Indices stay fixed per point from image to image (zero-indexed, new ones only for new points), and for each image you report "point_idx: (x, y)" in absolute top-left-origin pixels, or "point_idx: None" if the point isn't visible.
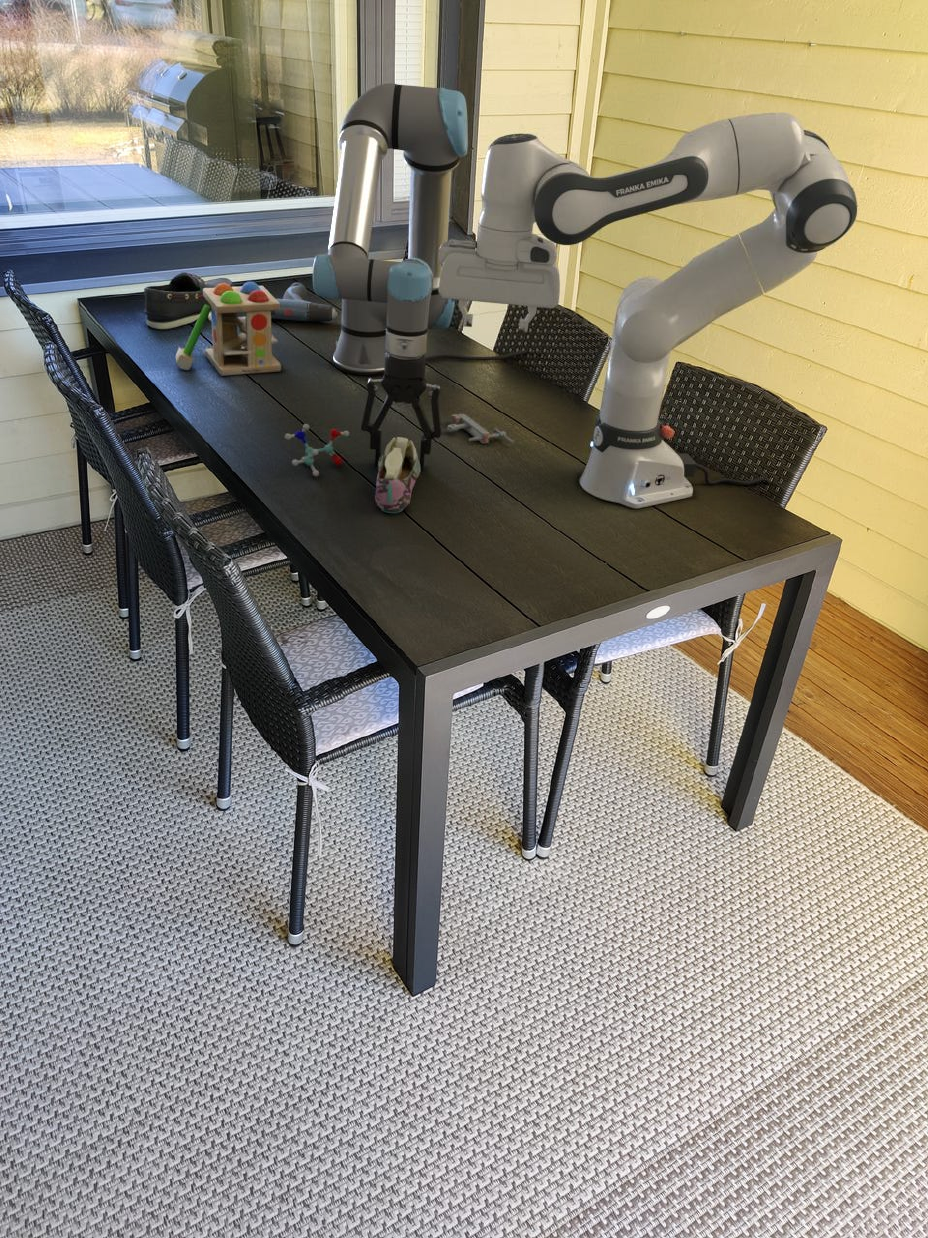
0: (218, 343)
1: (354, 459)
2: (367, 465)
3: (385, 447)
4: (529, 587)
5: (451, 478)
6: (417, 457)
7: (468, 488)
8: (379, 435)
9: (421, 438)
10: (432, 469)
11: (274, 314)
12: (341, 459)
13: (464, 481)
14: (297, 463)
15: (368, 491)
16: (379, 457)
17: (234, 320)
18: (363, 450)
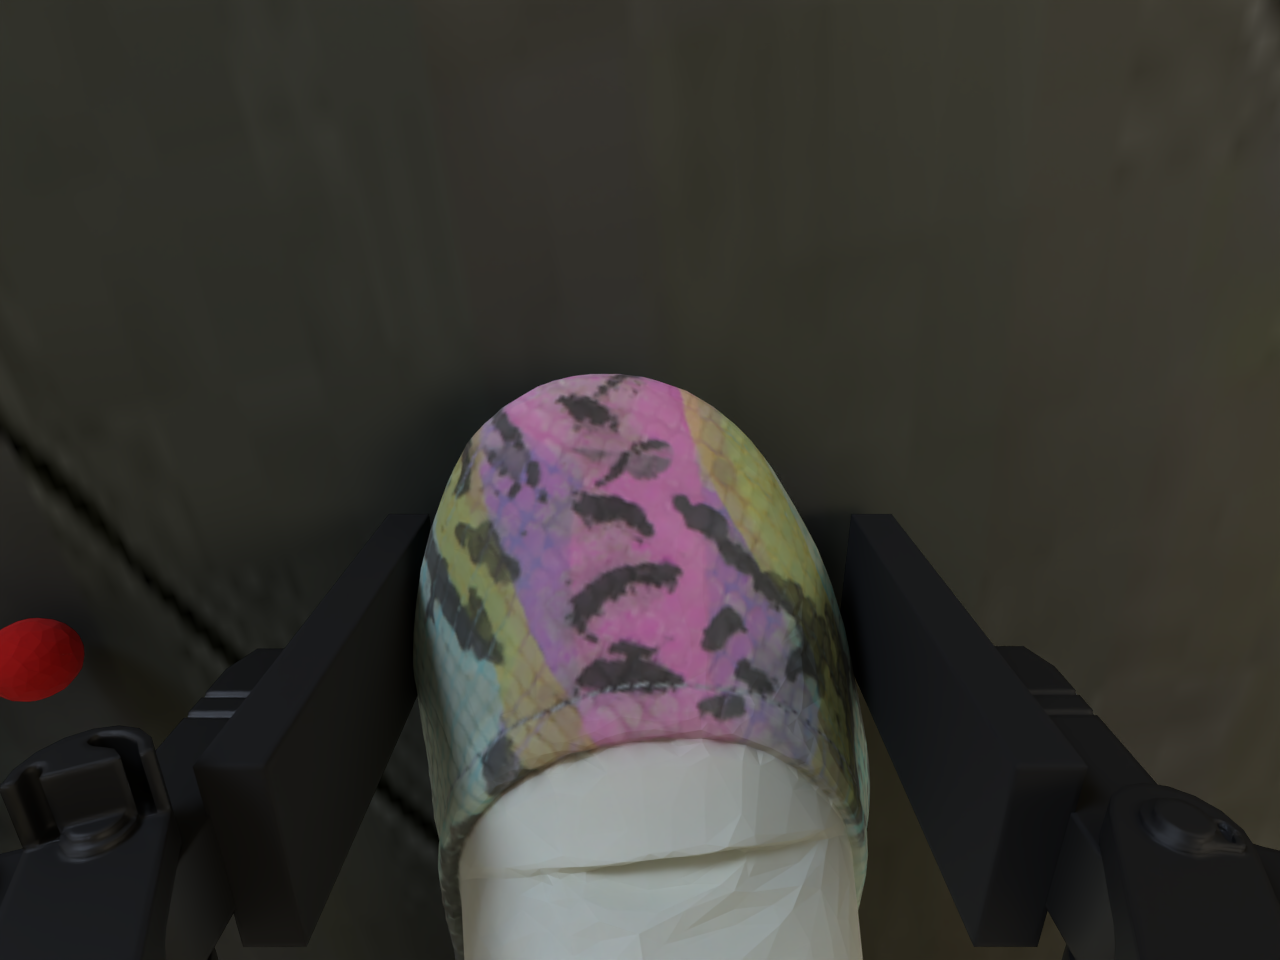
0: None
1: (157, 462)
2: (325, 563)
3: (450, 839)
4: None
5: (1132, 660)
6: (861, 895)
7: (1245, 793)
8: (289, 921)
9: (987, 893)
10: (971, 522)
11: None
12: (46, 679)
13: (1243, 691)
14: None
15: (452, 947)
16: (415, 677)
17: None
18: (165, 207)
